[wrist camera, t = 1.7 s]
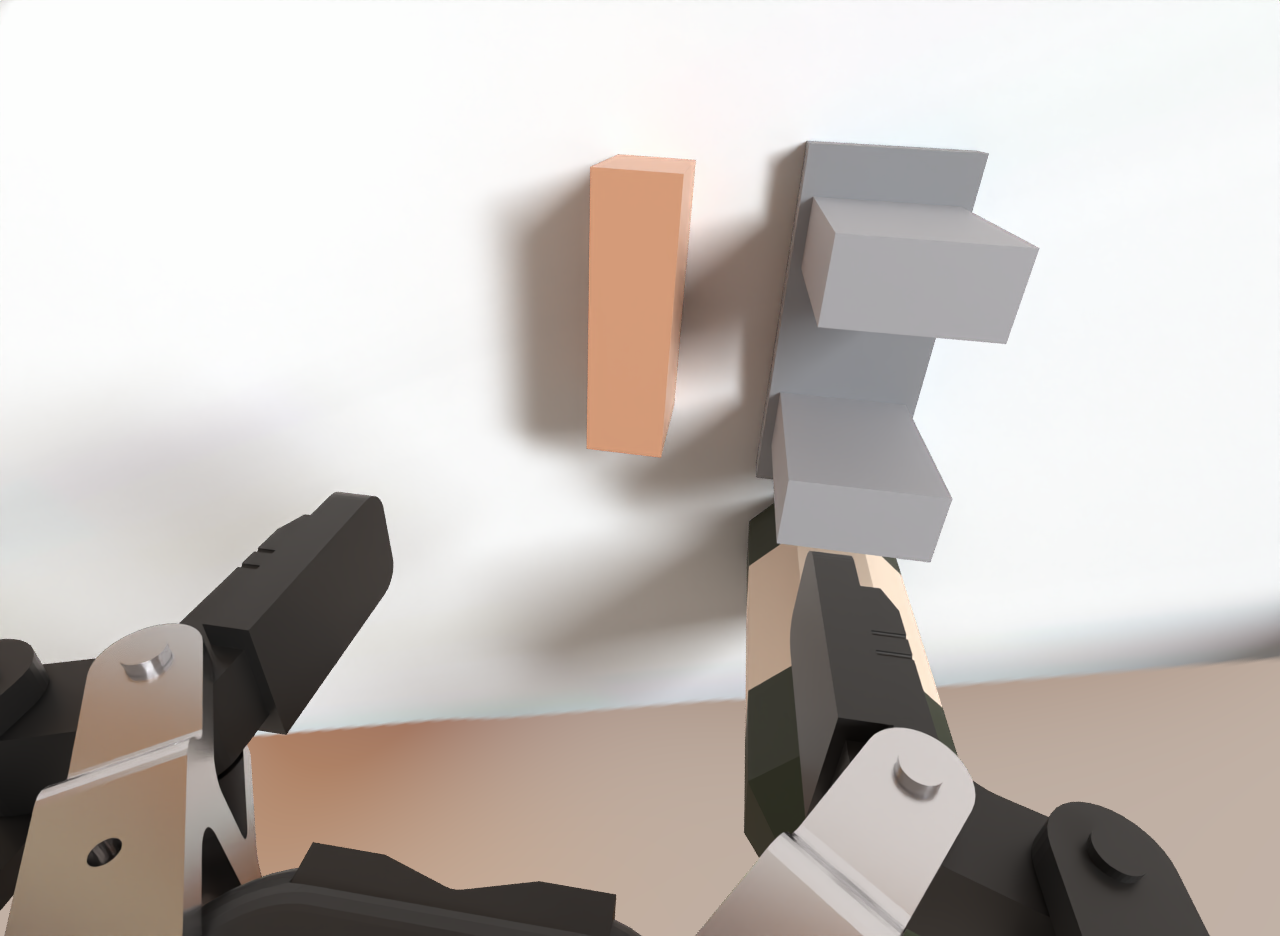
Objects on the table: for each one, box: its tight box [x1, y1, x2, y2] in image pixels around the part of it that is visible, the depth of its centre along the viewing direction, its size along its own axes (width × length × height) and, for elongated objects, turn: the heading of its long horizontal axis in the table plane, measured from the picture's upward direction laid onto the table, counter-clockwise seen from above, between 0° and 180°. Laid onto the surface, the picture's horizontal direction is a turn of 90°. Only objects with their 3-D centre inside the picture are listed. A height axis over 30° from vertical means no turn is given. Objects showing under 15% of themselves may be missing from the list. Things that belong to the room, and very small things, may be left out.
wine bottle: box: [744, 503, 957, 936], centre depth 25 cm, size 8×8×30 cm
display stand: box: [756, 141, 1039, 562], centre depth 27 cm, size 7×16×10 cm, turn 177°
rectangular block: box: [587, 154, 696, 458], centre depth 29 cm, size 4×12×6 cm, turn 176°
